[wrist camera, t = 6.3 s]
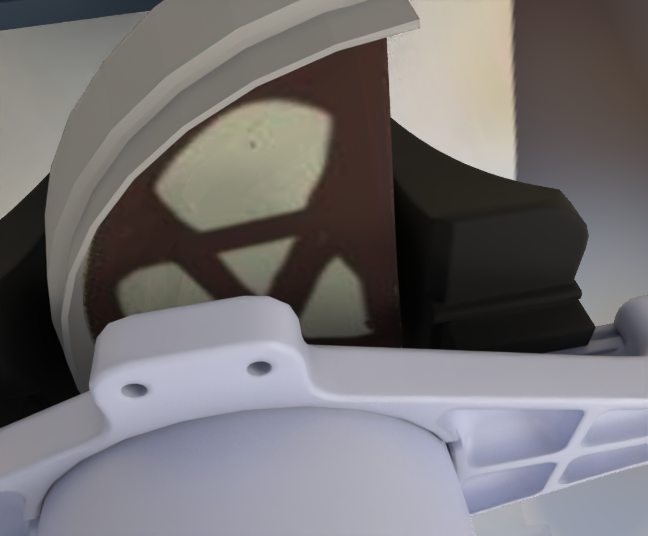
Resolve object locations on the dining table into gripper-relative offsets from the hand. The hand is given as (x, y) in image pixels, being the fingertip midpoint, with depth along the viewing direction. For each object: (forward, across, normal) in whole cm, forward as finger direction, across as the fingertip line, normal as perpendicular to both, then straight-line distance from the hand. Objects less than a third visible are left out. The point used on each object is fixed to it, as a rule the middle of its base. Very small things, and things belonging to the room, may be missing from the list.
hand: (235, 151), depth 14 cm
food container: (+3, 0, 0) cm, 3 cm away
